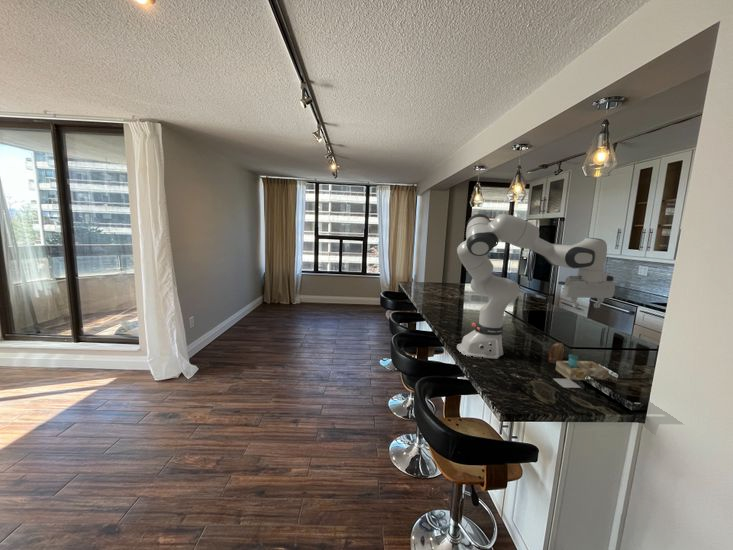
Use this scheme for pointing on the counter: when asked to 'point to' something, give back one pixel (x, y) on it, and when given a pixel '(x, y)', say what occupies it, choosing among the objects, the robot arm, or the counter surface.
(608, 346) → the counter surface
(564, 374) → the socket block
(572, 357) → the plug
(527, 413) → the counter surface
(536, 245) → the robot arm
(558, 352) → the brown rounded slab
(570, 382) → the deck
